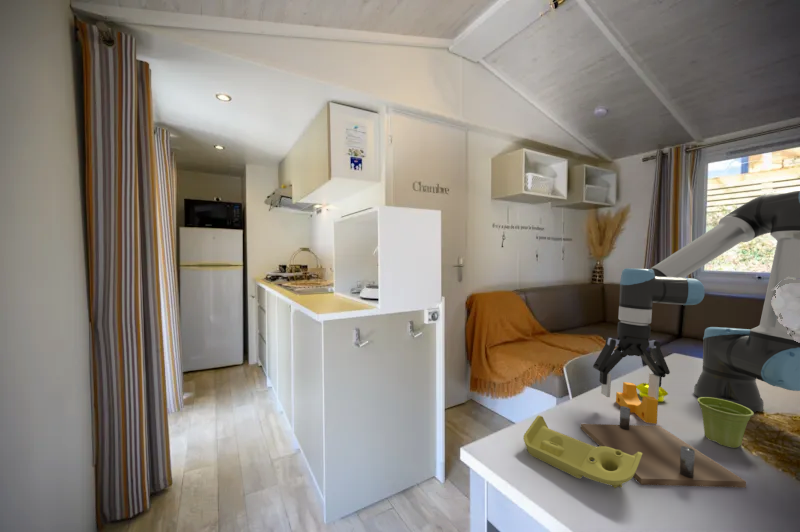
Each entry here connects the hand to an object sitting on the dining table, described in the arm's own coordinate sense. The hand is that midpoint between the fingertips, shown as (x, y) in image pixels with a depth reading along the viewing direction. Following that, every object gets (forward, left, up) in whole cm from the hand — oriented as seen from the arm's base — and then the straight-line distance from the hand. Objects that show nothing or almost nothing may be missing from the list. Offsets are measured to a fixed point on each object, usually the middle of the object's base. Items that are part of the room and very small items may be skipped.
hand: (629, 396), depth 90 cm
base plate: (+10, +20, -4) cm, 23 cm away
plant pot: (-12, +14, -5) cm, 19 cm away
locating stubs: (+10, +20, -3) cm, 22 cm away
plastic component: (+29, +25, -5) cm, 39 cm away
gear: (-14, -10, -5) cm, 18 cm away
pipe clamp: (-2, 0, -5) cm, 5 cm away
